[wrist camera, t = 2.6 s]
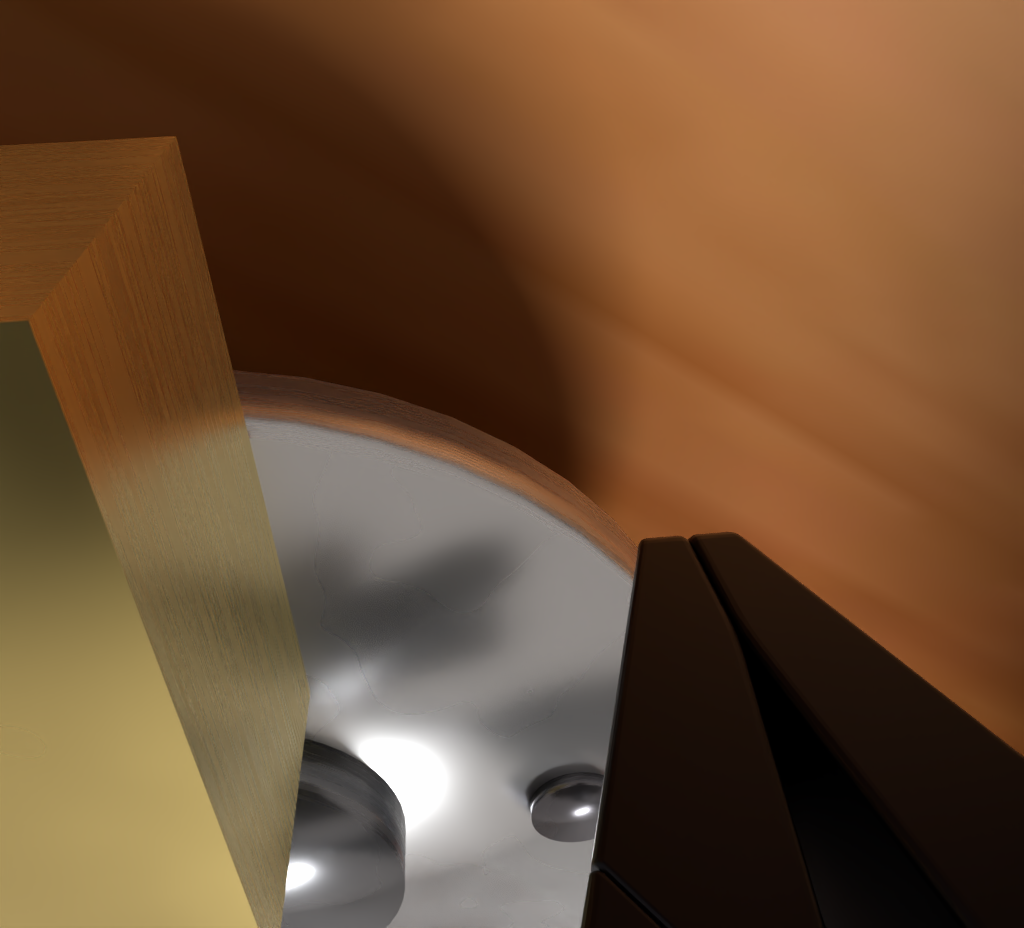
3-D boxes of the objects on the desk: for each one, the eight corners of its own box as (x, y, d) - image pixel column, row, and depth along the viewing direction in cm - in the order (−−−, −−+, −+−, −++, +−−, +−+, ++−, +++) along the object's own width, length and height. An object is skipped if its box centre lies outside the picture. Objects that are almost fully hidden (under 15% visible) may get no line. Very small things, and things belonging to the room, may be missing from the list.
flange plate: (662, 932, 16) (728, 1229, 13) (-24, 1003, 15) (-150, 1335, 12) (775, 66, 8) (1062, 253, 4) (-719, 144, 7) (-1793, 436, 4)
